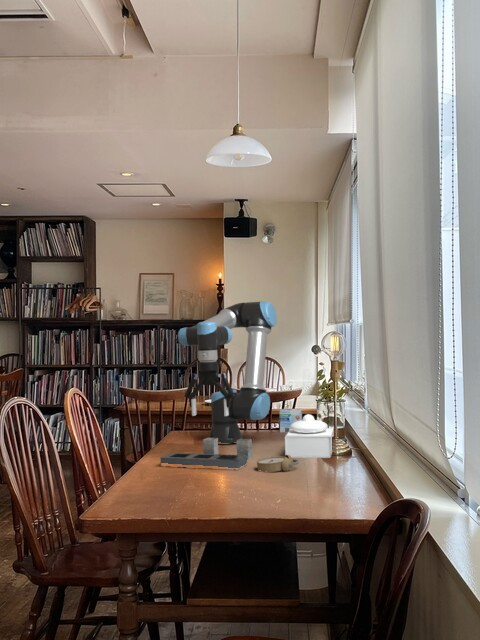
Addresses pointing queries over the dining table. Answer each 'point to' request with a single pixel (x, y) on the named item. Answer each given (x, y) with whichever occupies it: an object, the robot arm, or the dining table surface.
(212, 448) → the grey rectangular block
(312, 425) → the white box with dome
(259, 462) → the alarm clock
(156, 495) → the dining table surface
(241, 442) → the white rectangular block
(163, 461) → the grey metal flat frame
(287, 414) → the light bulb box
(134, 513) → the dining table surface
